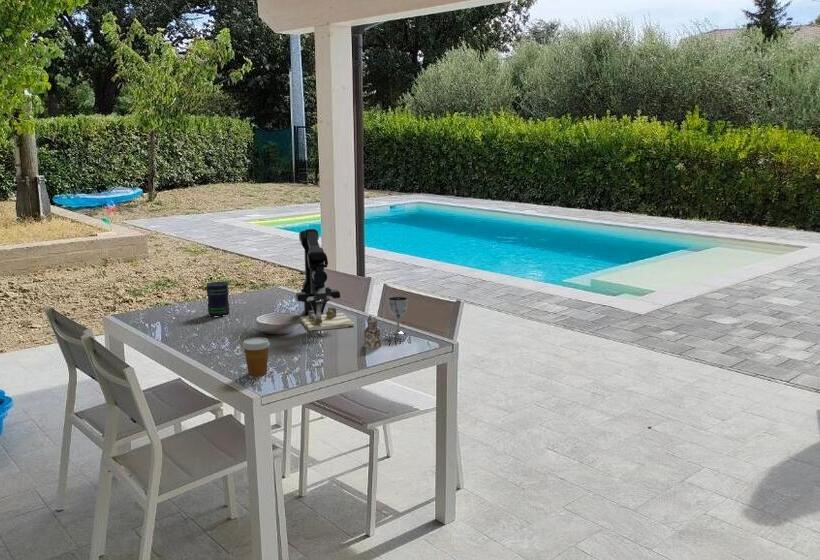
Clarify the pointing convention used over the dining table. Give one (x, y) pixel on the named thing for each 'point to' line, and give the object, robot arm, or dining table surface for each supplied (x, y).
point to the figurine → (372, 334)
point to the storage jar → (218, 298)
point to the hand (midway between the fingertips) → (318, 314)
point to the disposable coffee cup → (256, 355)
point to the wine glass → (398, 309)
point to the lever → (318, 313)
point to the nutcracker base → (328, 321)
